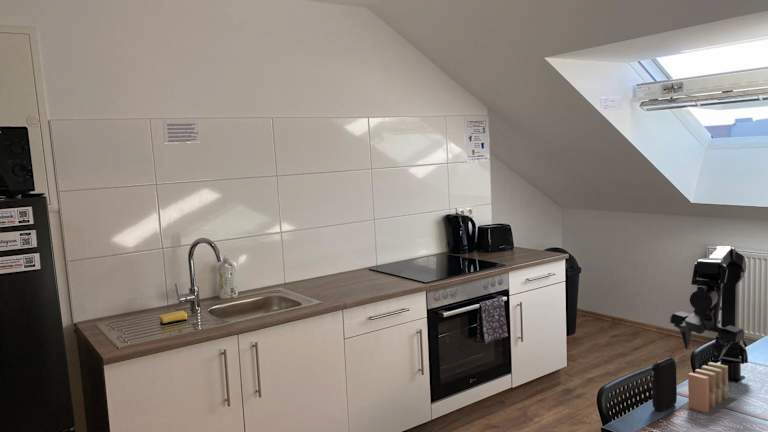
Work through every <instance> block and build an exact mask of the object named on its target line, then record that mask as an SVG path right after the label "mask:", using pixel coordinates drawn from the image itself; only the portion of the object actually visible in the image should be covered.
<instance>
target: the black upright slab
mask: <svg viewBox="0 0 768 432" xmlns="http://www.w3.org/2000/svg"><path fill="white" fill-rule="evenodd" d="M650 381H651V395H652V397H651V398H652V400H651V403H652V408H653V409H654V411H656V412H661V411H664V410H667V409H668V408H670V407H673V406H675V405H676V403H677V400H678V399H677V395H678V394H677V389H678V385H677V384H678V383H677V382H678V381H677V363H676V361H675V359H674V358H673V357H667V358H664V359H662V360H659V361H657V362H655V363H653V365H652V367H651V376H650Z"/></svg>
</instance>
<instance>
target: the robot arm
mask: <svg viewBox="0 0 768 432" xmlns="http://www.w3.org/2000/svg"><path fill="white" fill-rule="evenodd" d="M745 258H746V257H745V256H744V255H743V254H741V253H739V251H737V250H736V248H735V247H733V246H725V245H723V246H722V245H718V246H716V247H715V250H714V251H713V253H711V254H710V255H709V257H705V258H704V257H702V258H698V259H697V261H696V262H695V263H694V267H693V270H692V271H693V272H692V278H691V285H692V286H696V287H697V288H696V290H695V291H693V292H692V293H691V295H690V297H689V303H690V305H691V307H692V308H693V312H692V313H689V312H685V311H682V310H681V311H677V312H675V313H672V314H671V315H670V317H669V318H670V319H669V323H671V324H673V326H674V327H675V328H677V329H678V331H679V332H680V334H681V336H682V337H681V338H682V340H683V341H682V342H683V345H684V348H685V349H686V350H688V349H689V347H690V344H691V339H692V333H696V334H700V335H701V334H704V333H705V332H706V331H708V332H713V333H718V334H717V335H716V336H715V338H714V339H715V340H714V341H713V345H712V352H713V360H715V361H717V360H718V361H720V362H719V364H721V365H725V366H728V382H731V383H735V384H737V383H739V382H741V381H742V380H744V379H746V376H745V375H742V372H741V371H742V367H741V366H742V365H745V364H748V363H749V355H748V352H747V349H746V346H745V344H744V339H745V330H744V329H743V328H741V327H738V312H739V310H738V305H739V304H738V301H739V300H738V299H739V297H738V296H739V295H738V294H739V283H741V281H742V280H743V278H744V277H745V273H746V272H747V271H746V270H747V261H746V259H745ZM720 311H721V313H720ZM720 314H721V315H720ZM720 316H721V317H720ZM719 317H720V318H721V320H720V318H719ZM720 325H721V326H720Z"/></svg>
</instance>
